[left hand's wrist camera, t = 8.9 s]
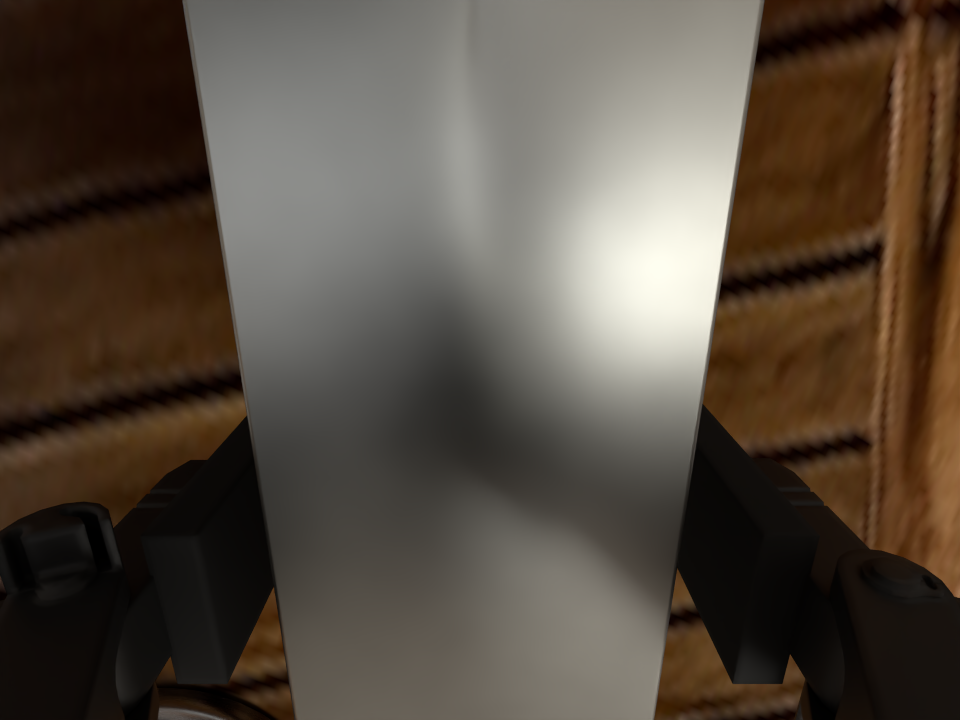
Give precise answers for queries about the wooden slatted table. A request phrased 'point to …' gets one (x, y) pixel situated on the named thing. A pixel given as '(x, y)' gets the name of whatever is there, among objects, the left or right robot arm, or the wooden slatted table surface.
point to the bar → (473, 331)
